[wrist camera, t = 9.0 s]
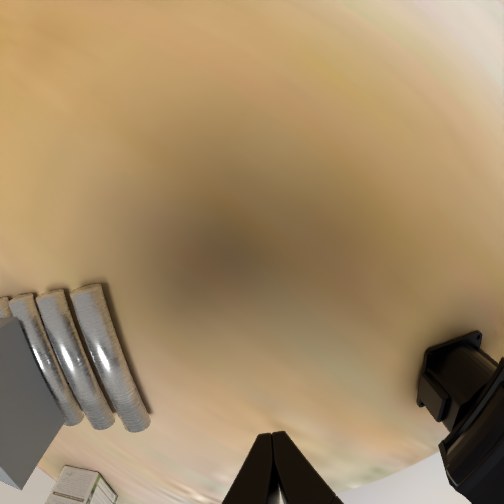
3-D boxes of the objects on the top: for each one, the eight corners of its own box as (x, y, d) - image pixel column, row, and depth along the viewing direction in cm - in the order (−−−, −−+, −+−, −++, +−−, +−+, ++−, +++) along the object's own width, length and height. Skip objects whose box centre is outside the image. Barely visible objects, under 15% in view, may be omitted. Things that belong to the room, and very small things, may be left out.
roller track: (106, 281, 20) (91, 293, 17) (153, 414, 22) (146, 432, 20) (-3, 297, 20) (-19, 306, 17) (44, 406, 22) (34, 419, 20)
